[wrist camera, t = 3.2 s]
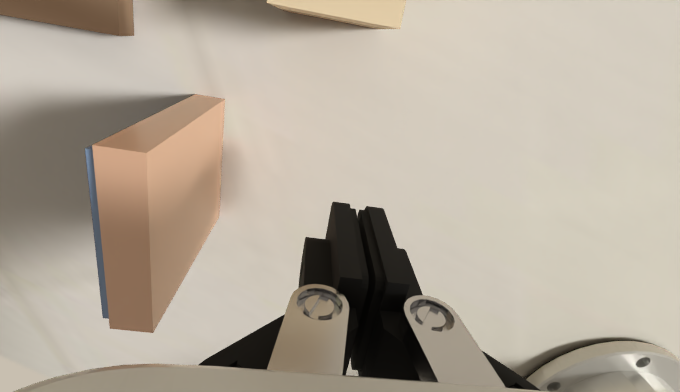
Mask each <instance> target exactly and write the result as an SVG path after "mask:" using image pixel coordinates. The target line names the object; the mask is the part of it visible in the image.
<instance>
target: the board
mask: <svg viewBox="0 0 680 392" xmlns="http://www.w3.org/2000/svg"><path fill="white" fill-rule="evenodd" d="M0 15H6V16H11V17H17V18H22V19H28V20H33V21H39V22H45V23H50V24H56V25H61V26H67V27H72V28H78V29H84V30H89V31H95V32H100V33H106V34H112V35H117V36H134V23H133V0H0Z"/></svg>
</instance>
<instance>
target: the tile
mask: <svg viewBox="0 0 680 392" xmlns="http://www.w3.org/2000/svg"><path fill="white" fill-rule="evenodd" d="M224 107H225V99H221V98H215V97H209V96H203V95H197V94H195V95H193V96H191V97H189V98H186V99H184V100H182V101H180V102H178V103H176V104H174V105H172V106H170V107H168V108H166V109H164V110H162V111H160V112H158V113H156V114H154V115H152V116H150V117H148V118H146V119H144V120H142V121H140V122H138V123H136V124H134V125H132V126H130V127H128V128H125V129H123V130H121V131H119V132H117V133H115V134H113V135H111V136H109V137H107V138H105V139H103V140H101V141H99V142H97V143H95V144H93V145H91V146H89V147H87V148H85V154H86V163H87V173H88V182H89V191H90V201H91V210H92V220H93V229H94V239H95V248H96V258H97V267H98V277H99V286H100V296H101V305H102V314H103V318H108V319H109V324H110V329H120V330H130V331H140V332H150V333H153V332H154V330H155V329H156V327H157V325H158V323H159V321H160V320H161V318H162V316H163V314H164V313H165V311H166V309H167V307H168V306H169V304H170V302H171V300H172V299H173V297H174V295H175V293H176V292H177V290H178V288H179V286H180V285H181V283H182V281H183V279H184V278H185V276H186V274H187V272H188V271H189V269H190V267H191V265H192V263H193V262H194V260H195V258H196V256H197V255H198V253H199V251H200V249H201V248H202V246H203V244H204V242H205V241H206V239H207V237H208V235H209V234H210V232H211V230H212V228H213V227H214V225H215V223H216V221H217V220H218V218H219V209H220V189H221V168H222V148H223V128H224Z"/></svg>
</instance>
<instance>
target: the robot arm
mask: <svg viewBox="0 0 680 392" xmlns="http://www.w3.org/2000/svg"><path fill="white" fill-rule="evenodd" d="M350 357H351V367H352V370H358V375H359V376H346V371H347V368H348V364H349V361H350ZM14 392H680V360H679V359H678V358H677V357H676V356H675V355H673V354H672V353H670V352H669V351H667V350H666V349H664V348H661V347H658V346H656V345H653V344H649V343H643V342H636V341H612V342H605V343H599V344H593V345H590V346H586V347H583V348H579V349H576V350H574V351H571V352H569V353H566V354H564V355H562V356H559V357H557V358H556V359H554V360H552V361H550V362H549V363H547V364H545V365H543V366H542V367H541V368H539V369H538V370H537V371H535V372H534V373H533V374H532V375H530V376H529V377H528V378H527V379H526V380H525V379H524V378H522V377H521V376H519V375H518V374H516V373H515V372H513V371H512V370H510V369H509V368H507V367H506V366H504V365H503V364H501V363H500V362H498V361H497V360H495V359H494V358H492V357H491V356H489V355H488V354H486V353H485V352H483V351H482V350H481V349H480V348H479V346H478V345H477V343H476V342H475V340H474V339H473V337H472V336H471V334H470V333H469V331H468V330H467V328H466V327H465V325H464V323H463V322H462V320H461V319H460V317H459V316H458V314H457V313H456V312H455V311H454V310H453V309H452V308H451V307H450V306H449V305H447V304H446V303H445V302H443V301H441V300H439V299H436V298H433V297H430V296H423V295H422V292H421V289H420V287H419V284H418V282H417V279H416V276H415V274H414V271H413V269H412V266H411V263H410V261H409V258H408V256H407V253H406V251H405V250H404V249H399V248H397V246H396V243H395V240H394V237H393V235H392V232H391V229H390V226H389V223H388V220H387V217H386V215H385V212H384V209H383V208H376V207H368V206H366V208H365V210H359V213H358V217H357V215H356V210H355V209H351V208H350V204H346V203H339V202H333V203H332V206H331V212H330V217H329V222H328V228H327V233H326V239H317V238H309V237H306V238H305V243H304V249H303V256H302V262H301V270H300V278H299V288H298V289H297V290H296V291H294V293H293V294H292V296H291V298H290V301H289V304H288V307H287V310H286V313H285V315H283V316H281V317H279V318H277V319H276V320H274V321H272V322H270V323H269V324H267V325H265V326H263V327H262V328H260V329H258V330H256V331H255V332H253V333H251V334H249V335H248V336H246V337H244V338H242V339H241V340H239V341H237V342H235V343H234V344H232V345H230V346H228V347H227V348H225V349H223V350H221V351H220V352H218V353H216V354H214V355H212V356H211V357H209V358H207V359H206V360H204V361H203V362H202V363H200V364H199V365H174V364H137V365H120V366H112V367H104V368H95V369H89V370H85V371H80V372H76V373H71V374H67V375H62V376H58V377H54V378H51V379H47V380H44V381H41V382H38V383H35V384H32V385H30V386H27V387H24V388H21V389H19V390H16V391H14Z"/></svg>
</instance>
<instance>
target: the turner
mask: <svg viewBox="0 0 680 392" xmlns="http://www.w3.org/2000/svg"><path fill="white" fill-rule="evenodd" d="M267 3H268V4H271V5H273V6H275V7H277V8H279V9H281V10H283V11H288V12H293V13H298V14H303V15H308V16H314V17H319V18H324V19H329V20H334V21H339V22H344V23H350V24H355V25H360V26H365V27H370V28H375V29H400V26H401V22H402V17H403V13H404V8H405V3H406V0H267Z"/></svg>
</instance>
